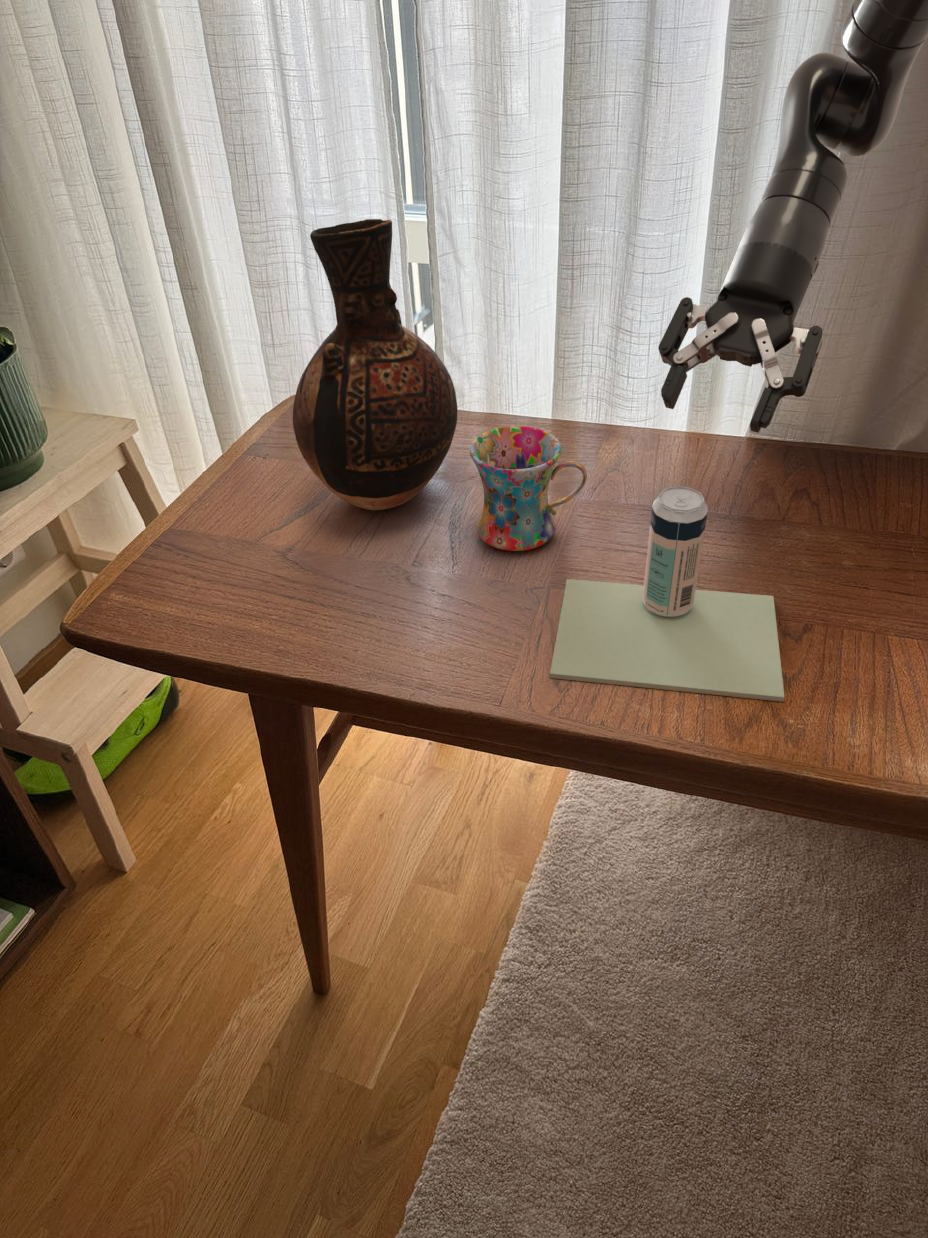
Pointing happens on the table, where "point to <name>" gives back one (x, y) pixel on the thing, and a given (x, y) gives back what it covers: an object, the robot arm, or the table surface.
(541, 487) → the mug
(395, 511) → the table surface
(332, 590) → the table surface
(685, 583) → the beer can
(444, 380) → the ceramic vessel
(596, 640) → the mat
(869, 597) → the table surface
